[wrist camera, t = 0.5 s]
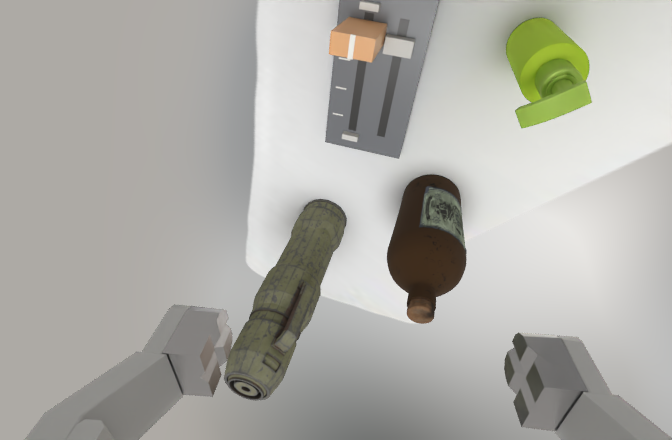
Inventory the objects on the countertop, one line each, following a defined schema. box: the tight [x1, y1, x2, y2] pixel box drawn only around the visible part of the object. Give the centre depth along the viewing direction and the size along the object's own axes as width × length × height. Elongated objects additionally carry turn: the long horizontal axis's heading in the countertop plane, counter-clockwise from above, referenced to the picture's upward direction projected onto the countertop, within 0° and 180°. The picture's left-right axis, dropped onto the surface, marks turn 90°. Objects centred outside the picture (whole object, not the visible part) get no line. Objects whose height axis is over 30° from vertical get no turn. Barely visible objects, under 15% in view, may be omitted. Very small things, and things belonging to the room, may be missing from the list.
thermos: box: [224, 199, 346, 400], centre depth 57 cm, size 9×12×35 cm
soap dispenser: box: [506, 18, 592, 128], centre depth 38 cm, size 6×7×20 cm
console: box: [325, 0, 439, 159], centre depth 51 cm, size 22×12×4 cm, turn 174°
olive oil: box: [387, 175, 466, 323], centre depth 52 cm, size 11×11×25 cm
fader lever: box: [329, 17, 387, 63], centre depth 43 cm, size 2×5×9 cm, turn 84°
